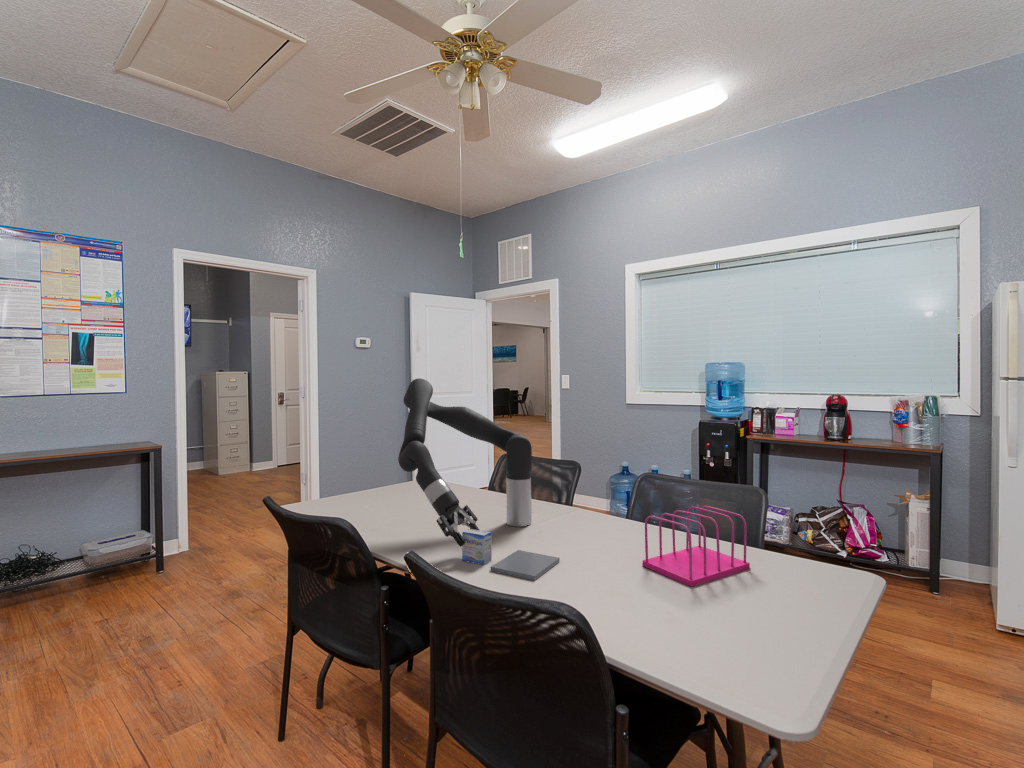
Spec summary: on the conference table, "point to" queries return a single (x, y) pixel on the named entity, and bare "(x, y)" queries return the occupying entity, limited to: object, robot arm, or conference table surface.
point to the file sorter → (695, 553)
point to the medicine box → (477, 546)
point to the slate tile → (525, 564)
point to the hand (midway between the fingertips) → (471, 540)
